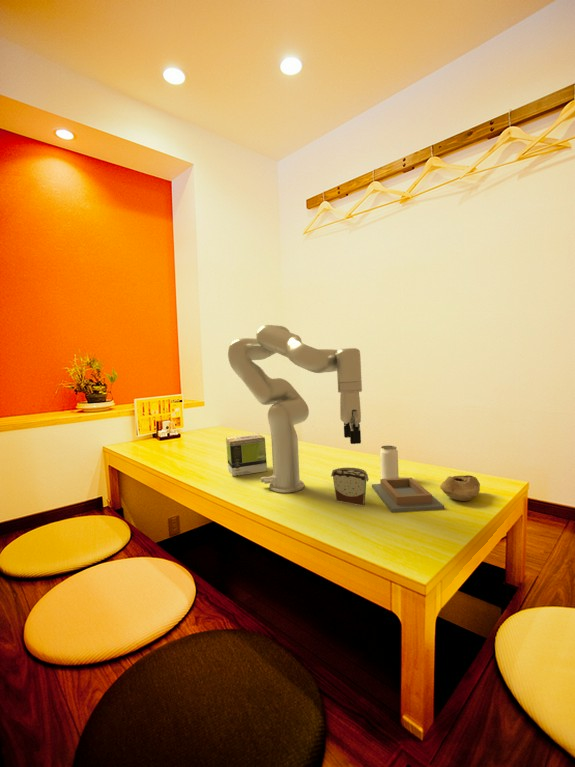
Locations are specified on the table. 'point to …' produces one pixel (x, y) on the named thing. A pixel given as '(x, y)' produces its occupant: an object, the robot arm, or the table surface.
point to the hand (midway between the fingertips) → (352, 440)
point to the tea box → (246, 454)
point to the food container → (350, 485)
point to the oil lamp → (461, 487)
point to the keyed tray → (405, 495)
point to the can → (389, 462)
